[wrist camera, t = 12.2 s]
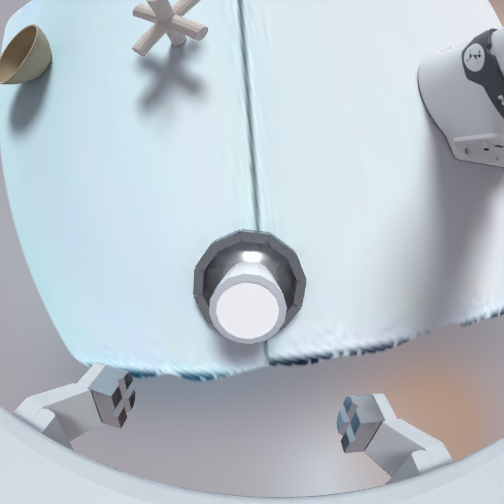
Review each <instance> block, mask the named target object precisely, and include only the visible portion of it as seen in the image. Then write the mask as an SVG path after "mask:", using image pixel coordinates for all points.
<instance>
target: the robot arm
mask: <svg viewBox="0 0 504 504" xmlns="http://www.w3.org/2000/svg"><path fill="white" fill-rule="evenodd" d="M418 80H419V87H420V91H421V94H422V97H423V100H424V103H425V105H426V107H427V109H428V111H429V113H430V115H431V116H432V118H433V120H434V121H435V123H436V124H437V125H438V127H439V128H440V129H441V130H442V132H443V133H444V135H445V136H446V138H447V140H448V142H449V145H450V148H451V150H452V152H453V154H454V156H455V157H456V158H457V159H459V160H465V161H471V162H477V163H483V164H488V165H494V166H499V167H503V168H504V27H502V28H500V29H490V30H487V31H485V32H483V33H482V34H480V35H478V36H476V37H475V38H474V39H473V40H470V41H468V42H465V43H462V44H460V45H458V46H455V47H453V48H452V47H446V48H444V49H443V50H442V51H441V52H440V53H438V54H434V55H430V56H428V57H426V58H425V59H424V60H423V61H422V62H421V64H420V67H419V73H418ZM132 381H133V378H132V374H131V373H130V372H127V371H124V370H120V369H117V368H114V367H111V366H107V365H104V364H101V363H98V362H97V363H94V364H93V366H92V367H91V368H90V369H89V370H88V371H87V372H86V374H85V375H84V376H83V377H82V378H81V379H80V381H79V382H78V383H77V384H74V383H72V384H69V385H66V386H63V387H60V388H57V389H54V390H50V391H47V392H44V393H40V394H37V395H33V396H30V397H27V399H26V400H25V401H24V402H23V403H22V404H21V405H20V406H19V407H18V408H17V409H16V410H15V412H13V414H11V413H10V412H8V411H7V410H6V409H4V408H3V407H2V406H0V504H504V437H503V438H501V439H499V440H498V441H496V442H494V443H492V444H491V445H489V446H487V447H485V448H483V449H481V450H479V451H477V452H475V453H473V454H471V455H469V456H467V457H465V458H463V459H460V460H458V461H456V462H453V460H452V458H451V456H450V455H449V453H448V451H447V450H446V448H445V446H444V444H443V443H442V442H440V441H438V440H437V439H435V438H433V437H431V436H430V435H428V434H426V433H424V432H422V431H421V430H419V429H417V428H416V427H414V426H412V425H410V424H409V423H407V422H405V421H404V420H402V419H397V417H396V415H395V413H394V412H393V410H392V408H391V406H390V404H389V402H388V400H387V399H386V397H385V395H384V394H383V393H378V394H371V395H356V396H347V397H346V398H345V400H344V403H343V404H344V407H345V408H343V409H342V410H341V411H340V413H339V415H338V418H337V429H338V433H340V434H341V435H342V436H343V437H342V439H341V443H342V447H343V450H344V453H350V452H360V451H364V452H365V453H366V454H367V455H368V456H369V457H370V458H371V459H373V461H374V462H375V463H377V464H378V465H379V466H380V467H381V468H382V469H383V470H384V471H386V472H387V473H388V474H389V475H390V476H391V477H392V478H391V479H390V480H389V481H388V482H387V483H386V484H385V485H383V486H379V487H374V488H369V489H364V490H358V491H352V492H346V493H338V494H330V495H320V496H307V497H249V496H236V495H226V494H217V493H211V492H203V491H198V490H192V489H187V488H182V487H177V486H173V485H169V484H164V483H160V482H157V481H153V480H149V479H146V478H142V477H139V476H136V475H133V474H130V473H127V472H124V471H121V470H118V469H116V468H113V467H110V466H108V465H105V464H102V463H100V462H98V461H95V460H93V459H91V458H88V457H86V456H84V455H82V454H80V453H77V452H75V451H74V449H73V448H72V446H71V444H70V441H72V440H74V439H75V438H77V437H79V436H81V435H83V434H84V433H86V432H88V431H90V430H91V429H93V428H95V427H97V426H99V425H100V424H102V423H105V424H108V425H111V426H114V427H118V428H122V426H123V424H124V422H125V421H126V419H127V415H126V412H128V411H130V410H131V409H132V408H133V405H134V402H135V389H134V388H133V387H132V385H131V383H132Z"/></svg>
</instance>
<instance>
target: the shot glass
mask: <svg viewBox="0 0 504 504" xmlns="http://www.w3.org/2000/svg"><path fill="white" fill-rule="evenodd" d="M286 310H287V307H286V303H285V299H284V295H283V293H282V291H281V289H280V288H279V286H278V284H277V282H276V280H275V279H274V277H273V275H272V274H271V272H270V271H269V270H268V269H267V268H266V267H265V266H263V265H262V264H260V263H258V262H252V261H245V262H242V263H238V264H236V265H235V266H234V267H232V268H231V269H230V270H229V271H228V272H227V274H226V275H225V277H224V278H223V279H222V281H221V282H220V283H219V285H218V286H217V287H216V289H215V291H214V293H213V295H212V297H211V298H210V306H209V314H210V317H211V320H212V322H213V325H214V327H215V328H216V329H217V330H218V331H219V332H220V333H221V334H222V335H223V336H224V337H226V338H228V339H230V340H232V341H234V342H236V343H244V344H254V343H258V342H262V341H266V340H267V339H269V338H270V337H272V336H273V335H274V334H276V333H277V332H278V330H279V329H280V327H281V326H282V324H283V323H284V322H285V316H286Z"/></svg>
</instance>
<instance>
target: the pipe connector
mask: <svg viewBox="0 0 504 504" xmlns="http://www.w3.org/2000/svg"><path fill="white" fill-rule="evenodd" d="M146 1H147V2H148V4H149V5H150V6H147V5H143V4H139V5H138V6H136V7H135V8H134V10H133V16H135V17H138V18H142V19H145V20H148V21H150V22H153V23H155V24H154V25H153V26H152V27H151V28H150V29H149V30H148V31H147V32H146V33H145V34H144V35H143V36H142V37H141V38H140V40H139V41H138V42H137V43H136V44H135V45H134V46H133V47H132V49H133V50H134V51H135V52H136V53H138V54H140V55H142V56H145V54H146V53H147V52H148V51H149V50H150V49H151V48H152V47H153V45H154V44H155V43H156V42H157V41H158V40H159V39H160V38H161V37H162V36H163V35H164V34H165V33H167V35H168V37H169V38H170V40H171V42H172V43H173V44H174V45H181V44H183V43H184V42H185V41H186V36H189V37H191V38H193V39H196V40H198V41H199V40H201V39H203V38H204V37H205V35H206V34H207V32H208V28H207V27H206V26H204V25H201V24H199V23H196V22H194V21H191V20H189V19H186V18H183V17H182V16H183V15H184V14H185V13H187V12H188V11H189V10H190V9H191V8H192V7H193V6H194V5H196V4H197V3H198V2H199V1H200V0H180V1H178V2H177V3H176V4H175V5H174V6H173V7H171V5H170V3H169V1H168V0H146ZM185 35H186V36H185Z"/></svg>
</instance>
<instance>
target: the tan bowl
mask: <svg viewBox="0 0 504 504" xmlns="http://www.w3.org/2000/svg"><path fill="white" fill-rule="evenodd" d="M51 57H52V54H51V49H50V45H49V42H48V40H47V38H46V36H45V35H44V33H43V32H42V30H41V29H40V28H39V27H38V26H36V25H34V24H32V25H29V26H27V27H25V28H24V29H22V30H21V31H20V32H19V33H18V34H17V35H16V36H15V37H14V38H13V39H12V40H11V42H10V43H9V44H8V46H7V47H6V49H5V50H4V52H3V54H2V56H1V57H0V84H19V83H24V82H27V81H30V80H33V79H36V78H38V77H39V76H41V75H42V74H43V73H44V72H45V70H46V69H47V67H48V66H49V64H50V61H51Z"/></svg>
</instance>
